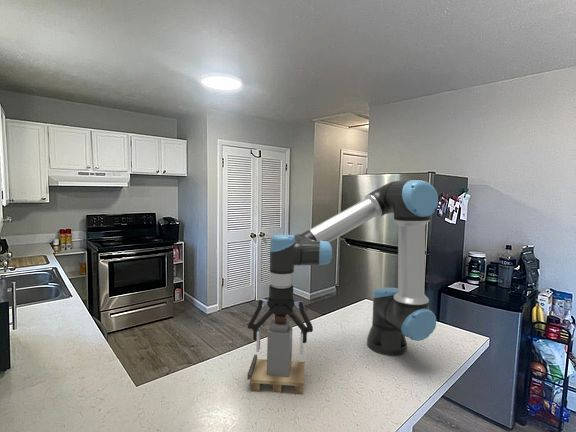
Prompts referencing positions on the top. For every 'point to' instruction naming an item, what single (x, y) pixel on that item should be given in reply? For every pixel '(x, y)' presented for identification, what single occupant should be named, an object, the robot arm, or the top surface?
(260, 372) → the platform
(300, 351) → the robot arm
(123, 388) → the top surface
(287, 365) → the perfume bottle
